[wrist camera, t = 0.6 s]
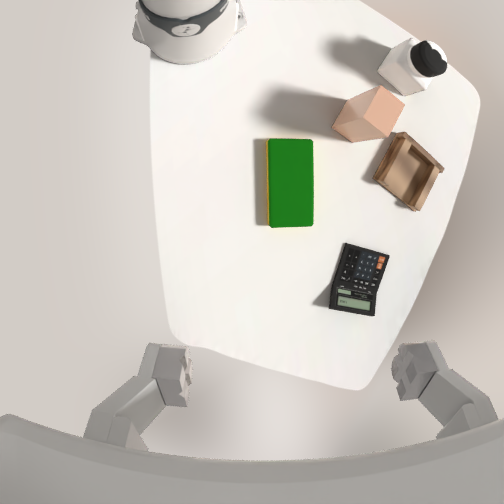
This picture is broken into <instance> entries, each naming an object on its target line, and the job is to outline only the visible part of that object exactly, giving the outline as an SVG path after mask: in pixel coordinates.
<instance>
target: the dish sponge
mask: <svg viewBox="0 0 504 504" xmlns="http://www.w3.org/2000/svg"><path fill="white" fill-rule="evenodd" d="M266 161H267V219H268V225H269V226H270V227H271V228H278V227H306V226H312V225H313V211H314V175H313V141H312V140H311V139H269V140H267V141H266Z"/></svg>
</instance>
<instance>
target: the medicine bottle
mask: <svg viewBox="0 0 504 504" xmlns="http://www.w3.org/2000/svg"><path fill="white" fill-rule="evenodd" d="M446 69H447V59H446V56H445V54H444V52H443V51H442V49H441V48H440V47H439V46H438V45H437V44H436V43H434V42H432V41H428V40H425V41H422V42H420V43H417V42H416V41H415V40H413V39H412V38H410V39H408V40H406V41H404V42H402V43H401V44H399V45H397V46H395V47H394V48H392V49H391V51H390V52H389V54H388V55H387V57H386V58H385V60H384V61H383V63H382V64H381V66H380V67H379V68H378V70H377V72H378V73H379V74H380V75H381V76H382V77H384V78H385V79H386V80H387V81H388V82H389V83H390V84H391V85H393V86H394V87H395V88H396V89H397V90H398V91H399V92H400V93H401V94H402V95H403V96H407V95H410V94H414V93H417V92H420V91H424V90H426V89H427V87H428V85H429V83H430V81H431V80H432V78H433V77H434V76H437V75H440V74H443V73H444V72H445V71H446Z"/></svg>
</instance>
